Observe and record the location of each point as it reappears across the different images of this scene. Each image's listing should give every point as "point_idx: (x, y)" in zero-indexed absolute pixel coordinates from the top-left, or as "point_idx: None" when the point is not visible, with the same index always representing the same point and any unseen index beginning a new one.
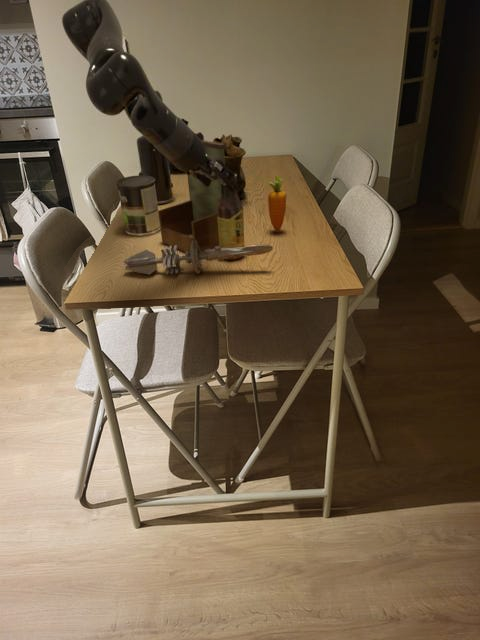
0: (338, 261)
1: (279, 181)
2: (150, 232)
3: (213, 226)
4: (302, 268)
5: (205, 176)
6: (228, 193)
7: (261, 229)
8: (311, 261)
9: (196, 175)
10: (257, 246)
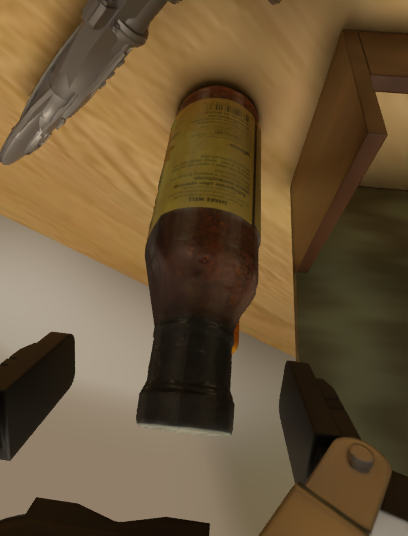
0: (22, 219)
1: None
2: None
3: (312, 195)
4: (21, 163)
5: (292, 438)
6: (164, 330)
7: (264, 263)
8: (49, 198)
9: (307, 483)
10: (11, 134)
